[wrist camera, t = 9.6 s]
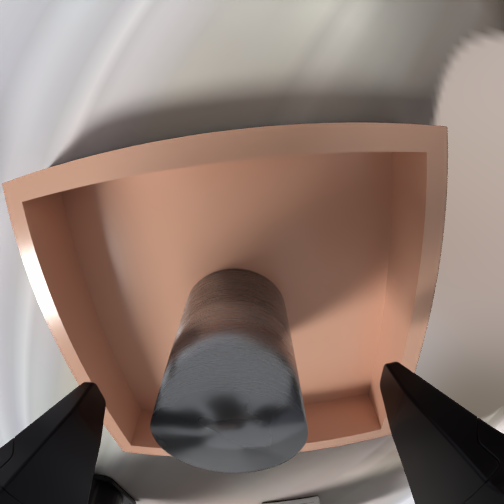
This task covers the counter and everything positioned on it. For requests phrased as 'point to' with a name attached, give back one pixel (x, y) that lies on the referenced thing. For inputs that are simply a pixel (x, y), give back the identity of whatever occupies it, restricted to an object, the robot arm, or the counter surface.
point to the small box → (300, 501)
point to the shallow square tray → (242, 257)
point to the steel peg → (231, 379)
